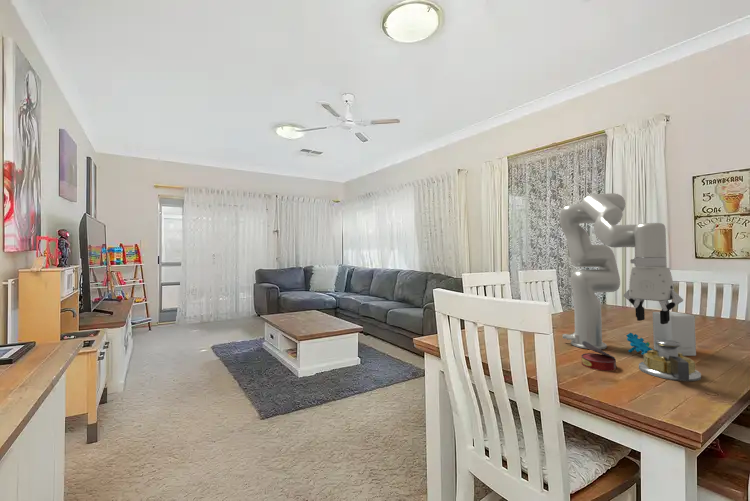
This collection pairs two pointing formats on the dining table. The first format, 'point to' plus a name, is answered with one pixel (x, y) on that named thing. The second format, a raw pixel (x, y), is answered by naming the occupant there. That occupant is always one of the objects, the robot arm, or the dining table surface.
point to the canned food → (598, 359)
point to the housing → (667, 350)
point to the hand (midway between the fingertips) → (652, 321)
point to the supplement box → (676, 331)
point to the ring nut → (670, 364)
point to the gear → (638, 344)
